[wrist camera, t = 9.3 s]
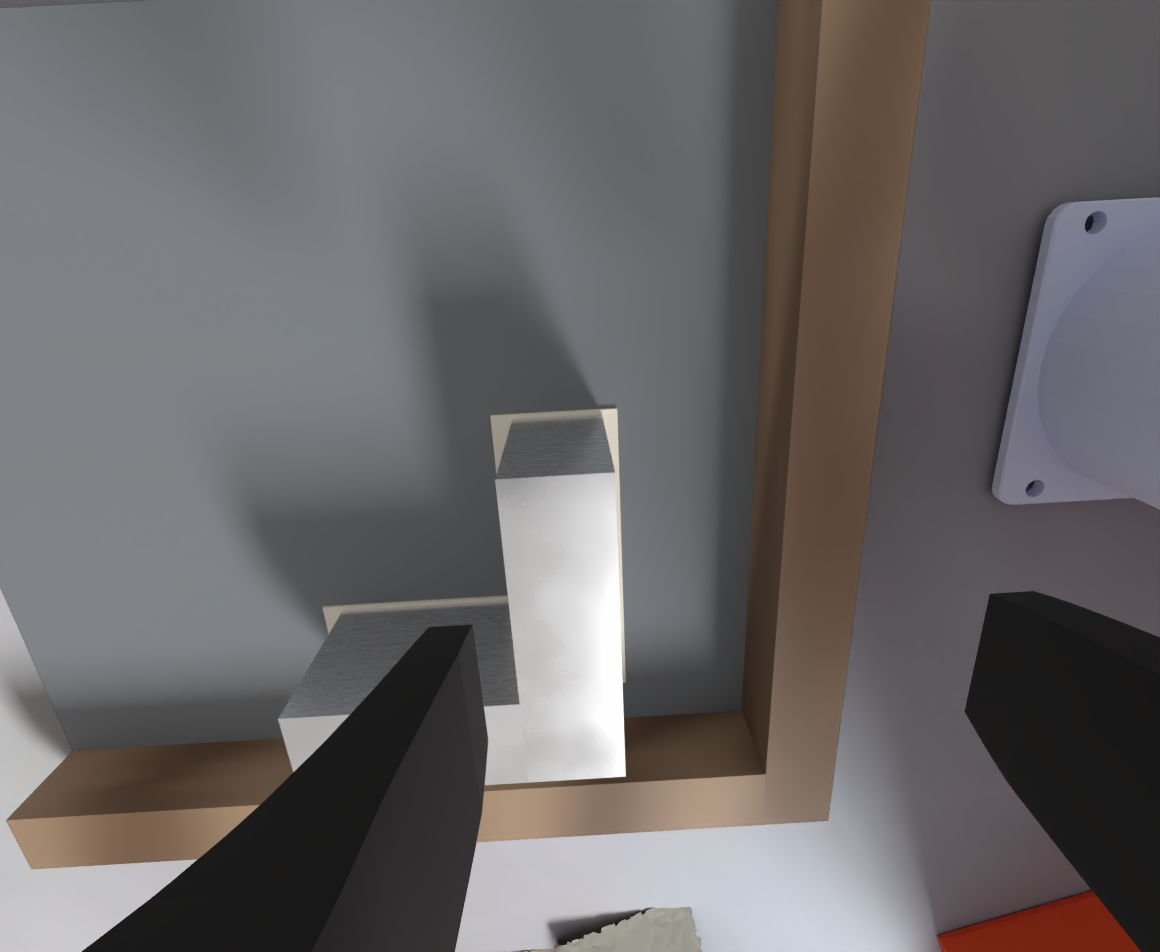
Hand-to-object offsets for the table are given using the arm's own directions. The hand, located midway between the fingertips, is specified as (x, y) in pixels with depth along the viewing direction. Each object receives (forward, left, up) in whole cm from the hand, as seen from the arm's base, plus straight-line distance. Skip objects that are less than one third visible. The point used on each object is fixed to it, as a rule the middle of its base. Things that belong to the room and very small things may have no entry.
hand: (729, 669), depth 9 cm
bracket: (+5, +3, -9) cm, 11 cm away
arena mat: (+7, 0, -9) cm, 12 cm away
